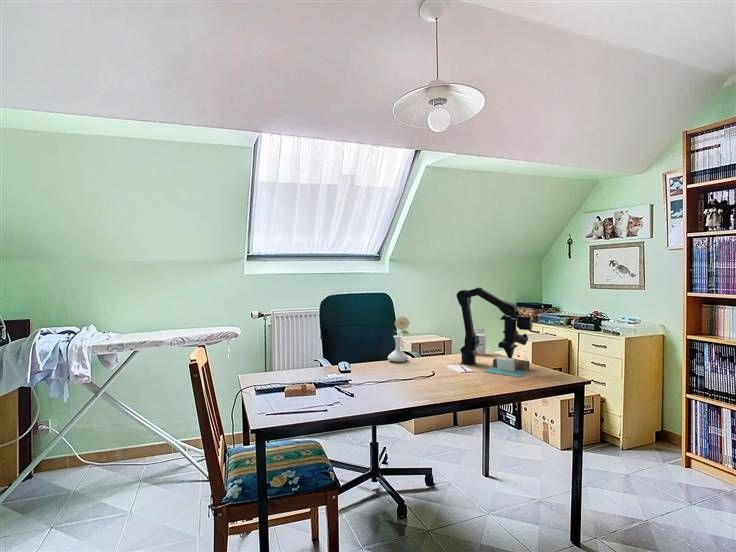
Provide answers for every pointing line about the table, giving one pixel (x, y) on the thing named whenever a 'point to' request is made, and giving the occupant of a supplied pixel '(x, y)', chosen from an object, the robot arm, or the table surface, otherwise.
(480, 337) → the ink cartridge box
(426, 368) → the table surface
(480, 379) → the table surface
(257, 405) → the table surface
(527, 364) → the brown rectangular block
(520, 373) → the mat
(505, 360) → the tile
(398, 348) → the flower in vase
